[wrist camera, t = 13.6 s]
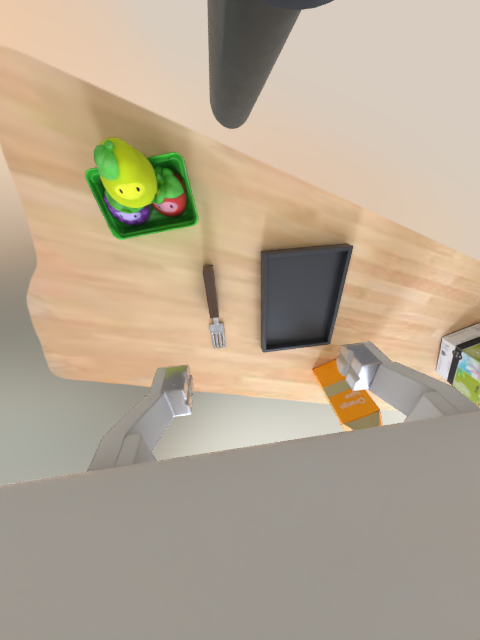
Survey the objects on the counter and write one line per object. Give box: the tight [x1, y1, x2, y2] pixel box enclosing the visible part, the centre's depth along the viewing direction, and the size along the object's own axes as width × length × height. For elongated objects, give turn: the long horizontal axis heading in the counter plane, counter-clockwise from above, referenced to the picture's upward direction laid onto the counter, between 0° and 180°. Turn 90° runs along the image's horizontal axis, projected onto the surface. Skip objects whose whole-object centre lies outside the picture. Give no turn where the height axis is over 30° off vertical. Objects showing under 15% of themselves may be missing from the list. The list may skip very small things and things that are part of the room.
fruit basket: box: [85, 137, 198, 240], centre depth 24 cm, size 11×9×11 cm
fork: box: [203, 265, 226, 349], centre depth 39 cm, size 18×3×3 cm, turn 3°
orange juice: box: [312, 359, 383, 432], centre depth 46 cm, size 8×9×20 cm
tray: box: [261, 244, 353, 352], centre depth 40 cm, size 21×15×2 cm
